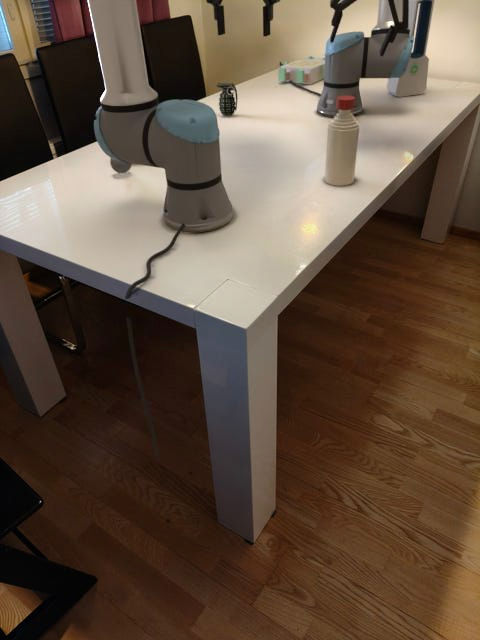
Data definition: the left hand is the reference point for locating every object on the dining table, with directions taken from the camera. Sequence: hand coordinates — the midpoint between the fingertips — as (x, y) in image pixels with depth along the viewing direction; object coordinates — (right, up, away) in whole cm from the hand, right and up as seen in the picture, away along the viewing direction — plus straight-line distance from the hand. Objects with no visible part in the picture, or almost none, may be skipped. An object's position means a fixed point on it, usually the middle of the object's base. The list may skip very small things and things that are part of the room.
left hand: (243, 35), depth 129 cm
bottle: (+24, -41, -9) cm, 48 cm away
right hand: (+29, -5, -3) cm, 30 cm away
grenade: (-5, -5, +40) cm, 41 cm away
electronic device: (+61, +9, +52) cm, 80 cm away
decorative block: (+27, +27, +79) cm, 88 cm away
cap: (+23, -26, -21) cm, 40 cm away
